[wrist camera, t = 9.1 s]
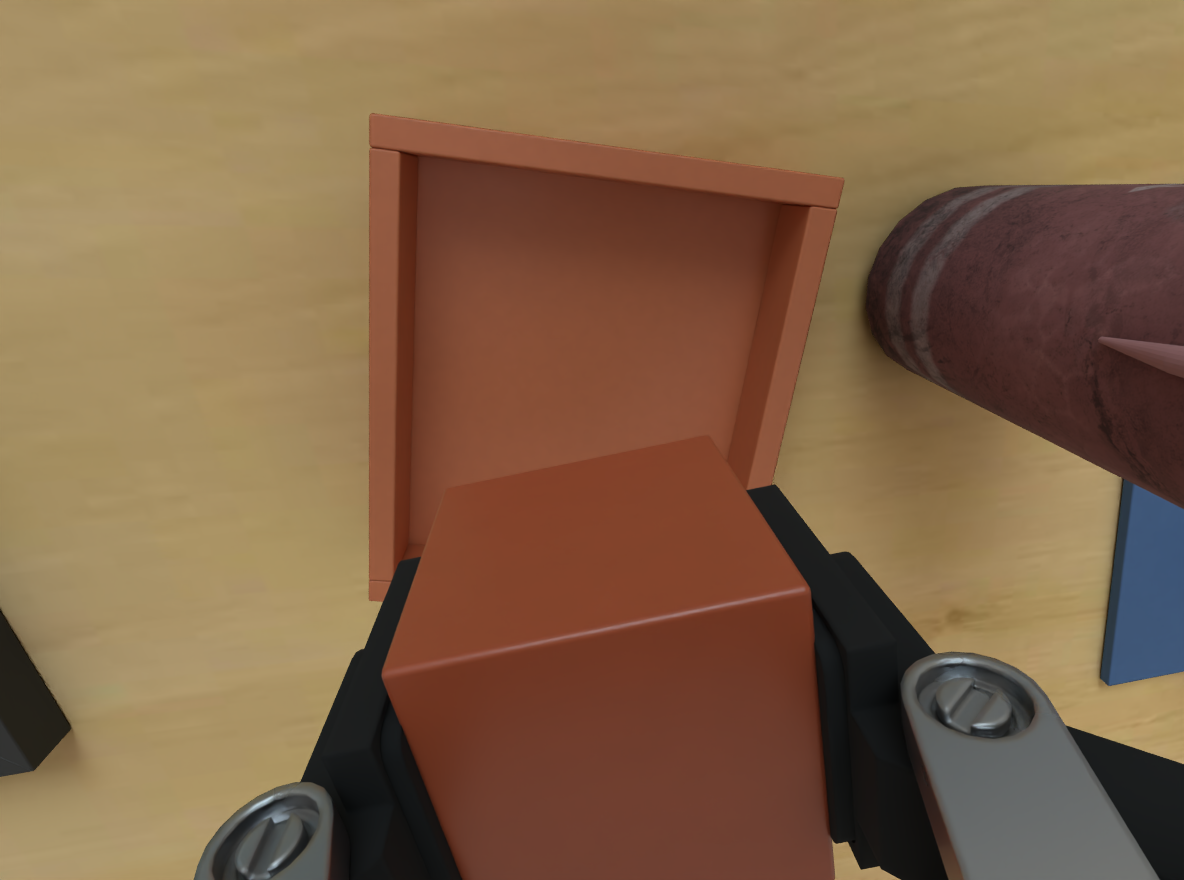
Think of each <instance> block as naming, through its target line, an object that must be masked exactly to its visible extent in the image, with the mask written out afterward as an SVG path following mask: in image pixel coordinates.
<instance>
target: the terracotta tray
mask: <svg viewBox="0 0 1184 880" xmlns="http://www.w3.org/2000/svg"><path fill="white" fill-rule="evenodd" d="M369 144H370V146H371V147H372V148H370V150H369V579H370V580H369V600H370V601H381V602H383V601H384V598H385V596H386V593H387V591H388V588H389V586H390V583H391V581H392V578H393V576H394V573H395V571H396V569H397V566H398V564H399V562H400V561H402V560H407V559H412V558H416V557H421V556H422V554H423V551H424V548H425V545H426V542H427V539H428V536H429V533H430V530H431V528H432V525H433V522H434V519H435V516H436V513H437V510H438V507H439V505H440V502H441V499H442V496H443V493H444V490H446V489H447V488H451V487H456V486H460V485H465V484H470V483H475V482H480V481H485V480H490V479H495V478H499V477H504V476H509V475H514V474H519V473H524V472H529V471H534V470H538V469H543V468H548V467H553V466H558V465H563V464H568V463H573V462H577V461H582V460H587V459H592V458H597V457H602V456H607V455H612V454H616V453H621V452H626V451H631V450H636V449H641V448H646V447H650V446H655V445H660V444H665V443H670V442H675V441H680V440H685V439H689V438H694V437H699V436H704V435H708V436H710V437H711V438H712V440H713V441H714V443H715V444H716V446H717V448H718V449H719V451H720V452H721V454H722V455H723V457H724V458H725V460H726V461H727V463H728V464H729V466H730V467H731V469H732V470H733V472H734V473H735V475H736V476H737V478H738V479H739V481H740V482H741V484H742V485H743V487H744V488H745V490H749V489H754V488H759V487H764V486H769V485H772V480H773V476H774V472H775V468H776V464H777V460H778V455H779V451H780V447H781V443H782V439H783V435H784V430H785V426H786V422H787V418H788V414H789V410H790V406H791V401H792V397H793V393H794V389H795V385H796V381H797V376H798V372H799V368H800V364H801V360H802V356H803V351H804V347H805V343H806V339H807V335H808V331H809V326H810V322H811V318H812V314H813V310H814V306H815V301H816V297H817V293H818V289H819V285H820V281H821V276H822V272H823V268H824V264H825V260H826V256H827V251H828V247H829V243H830V239H831V235H832V231H833V226H834V222H835V218H836V214H837V210H836V208H838V206H839V202H840V197H841V193H842V189H843V185H844V179H843V178H840V177H833V176H825V175H818V174H811V173H804V172H796V171H789V170H782V169H774V168H767V167H760V166H753V165H745V164H738V163H731V162H724V161H716V160H709V159H702V158H694V157H687V156H680V155H673V154H665V153H658V152H651V151H644V150H636V149H629V148H622V147H615V146H607V145H600V144H593V143H585V142H578V141H571V140H564V139H556V138H549V137H542V136H535V135H527V134H520V133H513V132H505V131H498V130H491V129H484V128H476V127H469V126H462V125H455V124H447V123H440V122H433V121H425V120H418V119H411V118H404V117H396V116H389V115H382V114H375V113H372V114H370V116H369Z"/></svg>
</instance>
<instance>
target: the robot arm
mask: <svg viewBox="0 0 1184 880" xmlns="http://www.w3.org/2000/svg"><path fill="white" fill-rule="evenodd" d="M746 491H747V493H748V495H749V496H750V498H751V499H752V501H753V502H754V504H755V505H756V507H757V508H758V510H759V511H760V513H761V514H762V516H763V517H764V519H765V520H766V522H767V523H768V525H769V526H770V528H771V529H772V531H773V532H774V534H775V535H776V537H777V538H778V540H779V542H780V543H781V545H782V546H783V548H784V549H785V551H786V552H787V554H788V555H789V557H790V558H791V560H792V561H793V563H794V564H795V566H796V567H797V569H798V570H799V572H800V573H801V575H802V576H803V578H804V579H805V581H806V582H807V584H808V586H809V587H810V589H811V598H812V610H813V621H814V633H815V642H814V648H815V660H816V671H817V683H818V695H819V706H820V718H821V730H822V741H823V753H824V765H825V777H826V788H827V800H828V812H829V823H830V835H831V838H832V840H833V841H834V842H835V843H836V844H837V843H842V842H847V841H848V843H849V845H850V847H851V849H852V852H853V854H854V856H855V858H856V860H857V862H858V865H859V867H860V869H861V870H862V869H867V868H872V867H877V866H880V868H881V869H882V870H884V871H886V872H888V873H890V874H891V875H893V876H895V877H897V878H899V879H901V880H1184V764H1181V763H1178V762H1175V761H1172V760H1169V759H1166V758H1163V757H1160V756H1157V755H1154V754H1151V753H1148V752H1145V751H1142V750H1139V749H1136V748H1133V747H1130V746H1127V745H1124V744H1121V743H1117V742H1114V741H1111V740H1108V739H1105V738H1102V737H1099V736H1096V735H1093V734H1090V733H1087V732H1084V731H1081V730H1078V729H1075V728H1072V727H1069V726H1066V725H1065V724H1064V723H1063V721H1062V719H1061V718H1060V716H1059V714H1058V713H1057V711H1056V709H1055V708H1054V706H1053V705H1052V703H1051V701H1050V700H1049V698H1048V696H1047V695H1046V694H1045V693H1044V691H1043V690H1042V689H1041V688H1040V687H1039V686H1038V684H1037V683H1036V682H1035V681H1034V680H1033V679H1031V678H1030V677H1028V676H1027V675H1026V674H1024V673H1023V672H1021V671H1020V670H1019V669H1017V668H1015V667H1013V666H1011V665H1009V664H1006V663H1004V662H1002V661H1000V660H997V659H995V658H991V657H987V656H983V655H979V654H975V653H964V652H946V653H938V654H935V653H934V651H933V650H932V649H931V648H930V647H929V646H928V644H927V643H926V642H925V641H924V640H923V638H922V637H921V636H920V635H919V634H918V632H917V631H916V630H915V629H914V628H913V626H912V625H911V624H910V623H909V622H908V620H907V619H906V618H905V617H904V616H903V614H902V613H901V612H900V611H899V610H898V608H897V607H896V606H895V605H894V604H893V602H892V601H891V600H890V599H889V598H888V596H887V595H886V594H885V593H884V592H883V590H882V589H881V588H880V587H879V586H878V584H877V583H876V582H875V581H874V580H873V578H872V577H871V576H870V575H869V574H868V572H867V571H866V570H865V569H864V568H863V567H862V565H861V564H860V563H859V562H858V561H857V559H856V558H855V557H854V556H853V555H852V554H851V553H849V552H840V553H835V554H829V553H828V551H827V550H826V549H825V548H824V546H823V545H822V544H821V542H820V541H819V540H818V538H817V537H816V536H815V535H814V533H813V532H812V531H811V529H810V528H809V527H808V526H807V524H806V523H805V522H804V520H803V519H802V518H801V516H800V515H799V514H798V513H797V511H796V510H795V509H794V507H793V506H792V505H791V504H790V502H789V501H788V500H787V498H786V497H785V496H784V495H783V493H782V492H781V491H780V489H779V488H778V487H777V486H776V485H769V486H764V487H759V488H754V489H749V490H746ZM420 559H421V557H416V558H412V559H407V560H402V561H400V562H399V564H398V566H397V569H396V571H395V573H394V576H393V578H392V581H391V583H390V586H389V588H388V591H387V593H386V596H385V598H384V601H383V603H382V606H381V608H380V611H379V613H378V616H377V618H376V621H375V623H374V626H373V628H372V631H371V633H370V636H369V638H368V641H367V643H366V646H365V648H364V649H362V650H360V651H358V652H356V653H355V655H354V657H353V658H352V660H351V662H350V665H349V667H348V670H347V672H346V674H345V677H344V679H343V681H342V684H341V686H340V689H339V691H338V693H337V696H336V698H335V701H334V703H333V705H332V708H331V710H330V712H329V715H328V717H327V720H326V722H325V724H324V727H323V729H322V732H321V734H320V736H319V739H318V741H317V744H316V746H315V748H314V751H313V753H312V755H311V758H310V760H309V763H308V765H307V767H306V770H305V772H304V775H303V777H302V779H301V782H294V783H290V784H287V785H283V786H279V787H276V788H274V789H272V790H270V791H268V792H266V793H264V794H261V795H259V796H257V797H256V798H254V799H253V800H251V801H250V802H249V803H247V804H246V805H244V806H243V807H242V808H240V809H239V810H237V811H236V812H235V813H234V814H233V815H232V816H231V817H230V818H229V819H228V820H227V821H226V822H225V823H224V824H223V825H222V826H221V827H220V828H219V829H218V831H217V832H216V833H215V835H214V836H213V838H212V839H211V840H210V842H209V843H208V844H207V846H206V848H205V850H204V852H203V855H202V857H201V859H200V861H199V864H198V866H197V870H196V873H195V877H194V880H462V878H461V876H460V873H459V870H458V868H457V865H456V863H455V860H454V858H453V855H452V853H451V850H450V848H449V845H448V843H447V840H446V837H445V835H444V832H443V830H442V827H441V825H440V822H439V820H438V817H437V815H436V812H435V810H434V807H433V805H432V802H431V799H430V797H429V794H428V792H427V789H426V787H425V784H424V782H423V779H422V777H421V774H420V772H419V769H418V766H417V764H416V761H415V759H414V756H413V754H412V751H411V749H410V746H409V744H408V741H407V739H406V736H405V734H404V731H403V728H402V726H401V725H400V723H399V720H398V718H397V715H396V713H395V710H394V708H393V705H392V703H391V700H390V698H389V695H388V692H387V690H386V687H385V685H384V682H383V680H382V676H381V675H382V669H383V666H384V663H385V660H386V658H387V655H388V652H389V649H390V646H391V643H392V640H393V637H394V634H395V632H396V629H397V626H398V623H399V620H400V617H401V614H402V611H403V608H404V606H405V603H406V600H407V597H408V594H409V591H410V588H411V585H412V582H413V580H414V577H415V574H416V571H417V568H418V565H419V562H420Z"/></svg>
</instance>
